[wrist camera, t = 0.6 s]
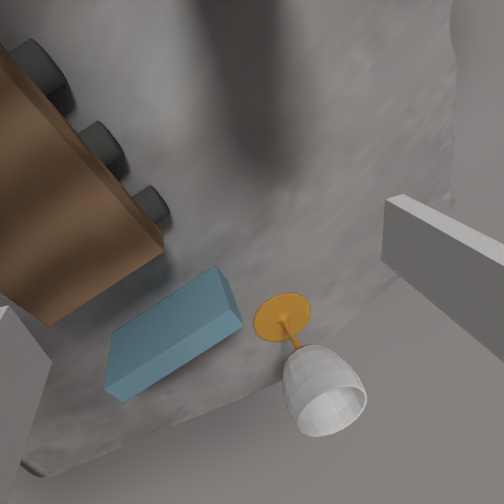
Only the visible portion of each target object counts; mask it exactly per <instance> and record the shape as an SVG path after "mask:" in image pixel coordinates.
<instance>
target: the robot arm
mask: <svg viewBox="0 0 504 504" xmlns="http://www.w3.org/2000/svg"><path fill="white" fill-rule="evenodd" d="M381 261H383V262H384V263H385V264H386V265H387V266H389V267H390V268H391V269H392V270H393V271H395V272H396V273H397V274H398V275H399V276H401V277H402V278H403V279H404V280H405V281H407V282H408V283H409V284H410V285H412V286H413V287H414V288H415V289H416V290H417V291H419V292H420V293H421V294H423V296H425V297H426V298H427V299H428V300H429V301H431V302H432V303H433V304H434V305H435V306H437V307H438V308H439V309H440V310H442V311H443V312H444V313H445V314H446V315H447V316H449V317H450V318H451V319H452V320H454V321H455V322H456V323H457V324H458V325H459V326H461V327H462V328H463V329H464V330H465V331H467V332H468V333H469V334H470V335H472V336H473V337H474V338H475V339H476V340H477V341H479V342H480V343H481V344H482V345H484V346H485V347H486V348H487V349H488V350H489V351H491V352H492V353H493V354H494V355H495V356H497V357H498V358H499V359H501V360H502V361H503V362H504V244H501V243H500V242H498V241H496V240H493V239H491V238H489V237H488V236H485V235H484V234H482V233H479V232H478V231H476V230H474V229H472V228H470V227H468V226H466V225H464V224H462V223H460V222H458V221H456V220H454V219H452V218H450V217H448V216H446V215H444V214H442V213H440V212H438V211H436V210H434V209H432V208H430V207H428V206H426V205H424V204H422V203H420V202H418V201H416V200H414V199H412V198H410V197H408V196H406V195H404V194H402V195H399V196H395V197H391V198H388V199H385V210H384V224H383V239H382V253H381ZM51 365H52V362H51V360H50V359H49V358H48V356H47V355H46V354H45V352H44V351H43V350H42V348H41V347H40V346H39V344H38V343H37V342H36V340H35V339H34V338H33V336H32V335H31V333H30V332H29V331H28V329H27V328H26V327H25V325H24V324H23V323H22V321H21V320H20V319H19V317H18V316H17V315H16V313H15V312H14V311H13V309H12V308H11V307H10V305H7V306H3V307H0V504H7V502H8V499H9V496H10V493H11V490H12V487H13V483H14V480H15V477H16V474H17V471H18V468H19V465H20V462H21V459H22V455H23V452H24V449H25V446H26V443H27V440H28V437H29V434H30V431H31V427H32V424H33V421H34V418H35V415H36V412H37V409H38V406H39V402H40V399H41V396H42V393H43V390H44V387H45V384H46V381H47V378H48V374H49V371H50V368H51Z"/></svg>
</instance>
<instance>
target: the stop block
mask: <svg viewBox="0 0 504 504" xmlns="http://www.w3.org/2000/svg"><path fill="white" fill-rule="evenodd" d="M243 326H244V323H243V321H242V318H241V315H240V313H239V310H238V307H237V304H236V302H235V299H234V296H233V293H232V291H231V288H230V285H229V282H228V280H227V279H226V278H225V277H224V275H223V274H222V273H221V272H220V270H219V269H218V268H217V267H216V266H215V267H213V268H212V269H210V270H208V271H207V272H205V273H204V274H202V275H201V276H199V277H198V278H196V279H195V280H193V281H191V282H190V283H188V284H187V285H185V286H184V287H182V288H181V289H179V290H178V291H176V292H174V293H173V294H171V295H170V296H168V297H167V298H165V299H164V300H162V301H161V302H159V303H157V304H156V305H154V306H153V307H151V308H150V309H148V310H147V311H145V312H144V313H142V314H140V315H139V316H137V317H136V318H134V319H133V320H131V321H130V322H128V323H127V324H125V325H123V326H122V327H120V328H119V329H117V330H116V331H114V332H113V334H112V340H111V347H110V353H109V360H108V367H107V373H106V380H105V386H104V390H105V391H106V392H108V393H109V394H111V395H112V396H114V397H115V398H117V399H118V400H120V401H121V402H123V403H124V402H126V401H127V400H129V399H130V398H132V397H133V396H135V395H137V394H138V393H140V392H141V391H143V390H144V389H146V388H148V387H149V386H151V385H152V384H154V383H155V382H157V381H159V380H160V379H162V378H163V377H165V376H166V375H168V374H170V373H171V372H173V371H174V370H176V369H177V368H179V367H181V366H182V365H184V364H185V363H187V362H188V361H190V360H192V359H193V358H195V357H196V356H198V355H199V354H201V353H203V352H204V351H206V350H207V349H209V348H210V347H212V346H214V345H215V344H217V343H218V342H220V341H221V340H223V339H225V338H226V337H228V336H229V335H231V334H232V333H234V332H236V331H237V330H239V329H240V328H242V327H243Z"/></svg>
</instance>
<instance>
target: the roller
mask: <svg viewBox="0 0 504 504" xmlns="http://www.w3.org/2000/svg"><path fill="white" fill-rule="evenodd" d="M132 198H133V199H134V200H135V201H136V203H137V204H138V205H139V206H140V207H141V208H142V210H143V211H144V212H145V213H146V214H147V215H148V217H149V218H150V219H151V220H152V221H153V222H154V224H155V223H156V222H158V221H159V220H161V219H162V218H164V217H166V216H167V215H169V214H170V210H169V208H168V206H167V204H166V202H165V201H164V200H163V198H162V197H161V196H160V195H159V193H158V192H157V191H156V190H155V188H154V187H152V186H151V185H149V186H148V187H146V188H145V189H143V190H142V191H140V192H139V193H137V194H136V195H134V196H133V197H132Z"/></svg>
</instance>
